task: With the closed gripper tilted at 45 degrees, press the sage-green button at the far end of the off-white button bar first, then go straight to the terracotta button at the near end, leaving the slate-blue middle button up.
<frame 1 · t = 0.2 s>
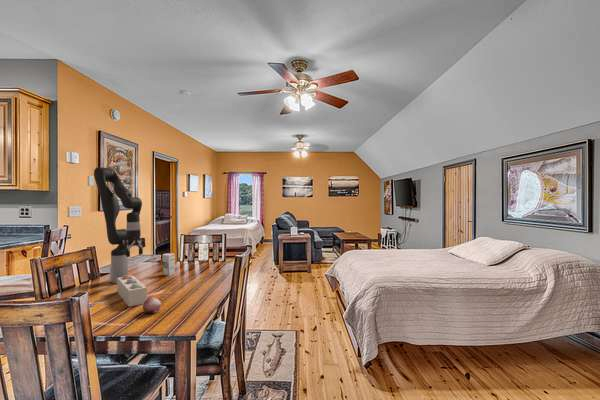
hand: (134, 255, 185), 18 cm above the table, tool pointing down, fingers open, 8 cm apart
sage button: (136, 286, 153), point 8 cm above the table, slide at 0.0 cm
slate button: (131, 281, 162), point 8 cm above the table, slide at 0.0 cm
syrup box: (168, 274, 209), on the table
terracotta button: (126, 277, 170), point 8 cm above the table, slide at 0.0 cm
onion: (152, 312, 141), on the table
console: (131, 297, 162), on the table
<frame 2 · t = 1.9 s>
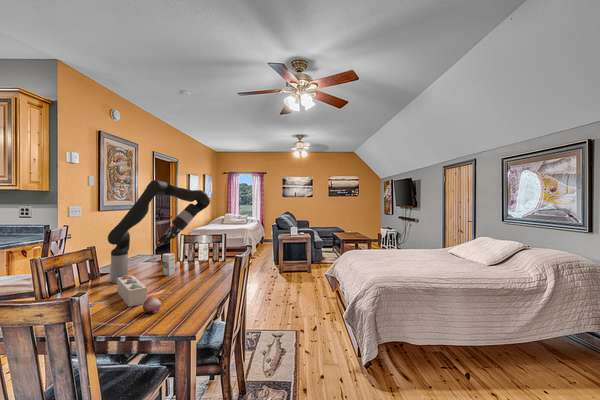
hand: (161, 242, 161), 30 cm above the table, tool tilted 45°, fingers open, 8 cm apart
nothing on the table moved.
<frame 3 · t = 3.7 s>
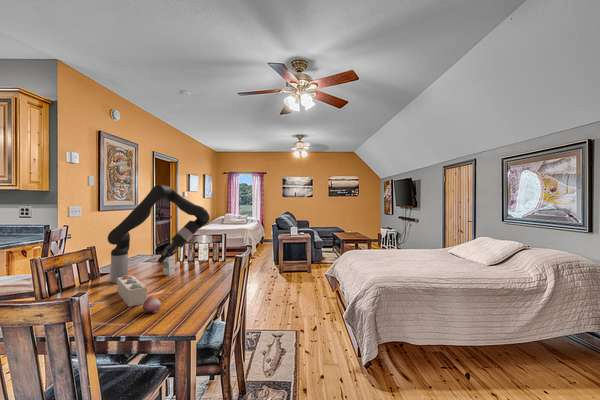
hand: (159, 261, 160), 19 cm above the table, tool tilted 45°, fingers closed
nothing on the table moved.
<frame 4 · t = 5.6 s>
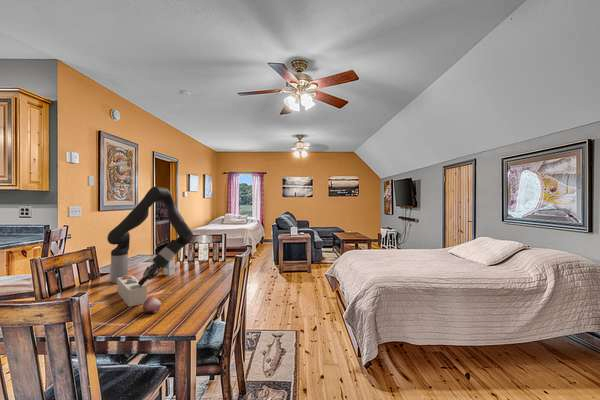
hand: (139, 284, 154), 9 cm above the table, tool tilted 45°, fingers closed
sage button: (136, 288, 153), point 7 cm above the table, slide at 0.9 cm, touching gripper
everything else where it was.
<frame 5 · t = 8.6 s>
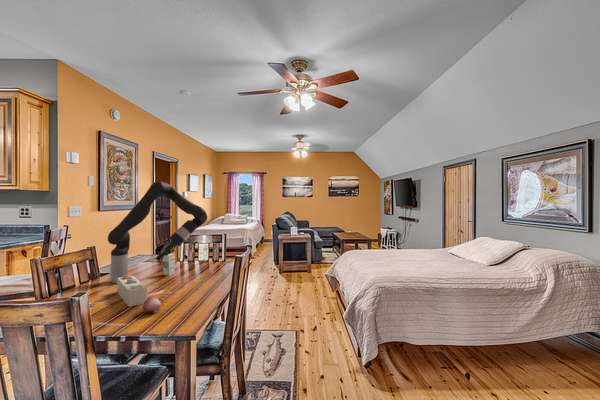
hand: (156, 259, 164), 20 cm above the table, tool tilted 45°, fingers closed
sage button: (136, 289, 153), point 7 cm above the table, slide at 1.5 cm
everything else where it was.
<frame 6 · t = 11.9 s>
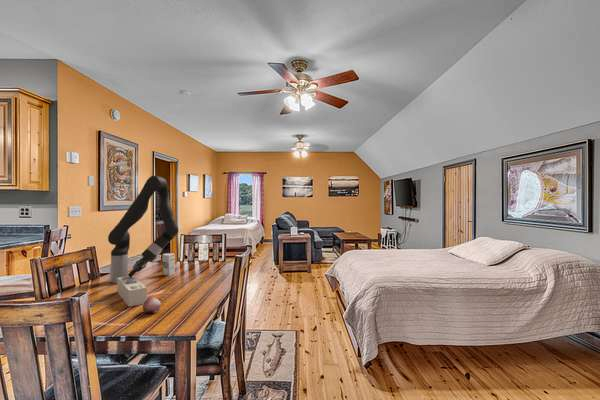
hand: (129, 276, 171), 9 cm above the table, tool tilted 45°, fingers closed
terracotta button: (126, 279, 170), point 7 cm above the table, slide at 1.3 cm
everything else where it was.
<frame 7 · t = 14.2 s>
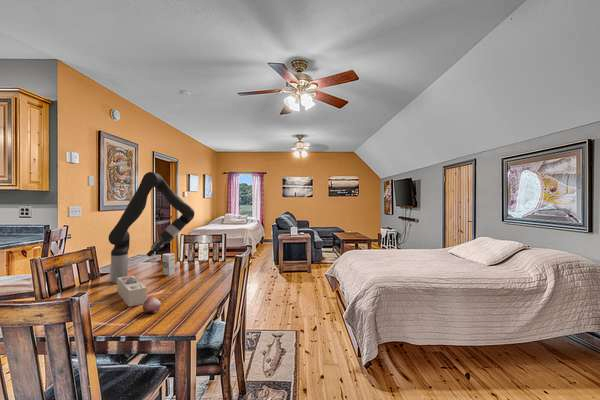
hand: (148, 255, 177), 19 cm above the table, tool tilted 45°, fingers closed
terracotta button: (126, 280, 170), point 7 cm above the table, slide at 1.6 cm
everything else where it was.
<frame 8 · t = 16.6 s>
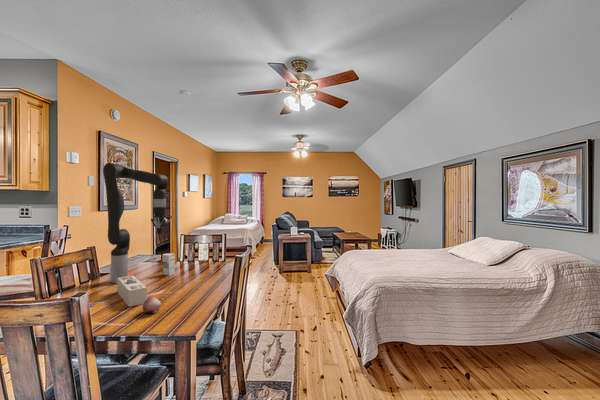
hand: (159, 233, 187), 31 cm above the table, tool pointing down, fingers closed
nothing on the table moved.
at the end: sage button slide at 1.5 cm; terracotta button slide at 1.6 cm; slate button slide at 0.0 cm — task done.
